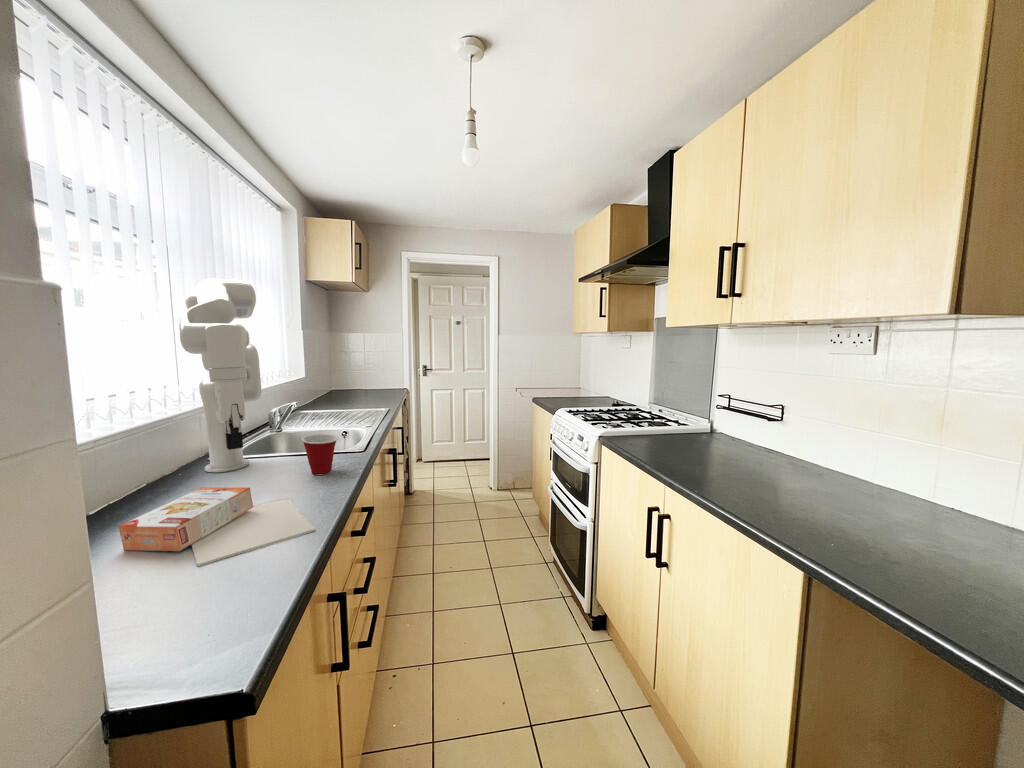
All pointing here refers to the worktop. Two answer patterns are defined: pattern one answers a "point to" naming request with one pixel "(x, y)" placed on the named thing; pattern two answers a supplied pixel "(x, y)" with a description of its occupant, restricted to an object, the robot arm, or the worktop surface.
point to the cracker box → (185, 519)
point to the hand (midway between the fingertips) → (235, 448)
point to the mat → (252, 531)
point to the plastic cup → (320, 452)
